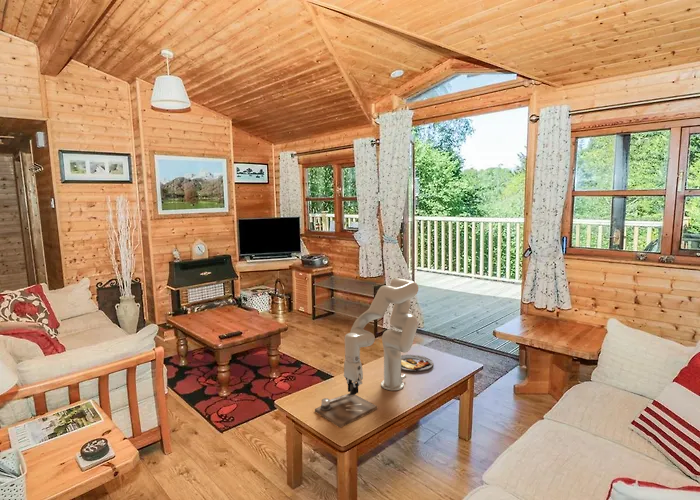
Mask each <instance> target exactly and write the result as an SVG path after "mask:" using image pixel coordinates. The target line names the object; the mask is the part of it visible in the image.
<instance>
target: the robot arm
mask: <svg viewBox="0 0 700 500" xmlns="http://www.w3.org/2000/svg"><path fill="white" fill-rule="evenodd" d="M377 290H378V291H377V292H376V294H375V296H374V299H372V302H371V304H370V306H369V308H368V309H367V310H365V311H364V312H363V313H361V314H360V315H359V316H358V317H357V318H356V319H355V321H354V322H353V324H352V326H351V328H350V331H349V332H348V333H346V334H345V335H344V362H343V377H344V378H345V380H346V384H347V392H349V393H350V383H352V382H353V385H354V387H353V394H355V395H357V394H359V386H360V385H362V384H363V379H364V371H363V364H362V361H361V348H364V347H371V346H373V344H374V343H375V340H376V337H375V335H374V333H372V332H370V330H369V331H368V330H365V329H364V328H365V327H366V326H367V324H368V323H370V322H372V321H374V320H375V321H376V320H378V319H381V318H384V316H385V314H386V312H387V310H388V309H389V306H390V304H393V309H392V311H391V315H390V319H389V324H390V326H391V327H393V328H394V329H386V330H385V331H384V332H383V334H382V335H381V342H382V347H383V348H382V349H383V380H382V381H381V383H380V385H381V388H382V389H385V391H386V390H387V391H390V392H391V391H393V392H394V391H400V390H402V389H403V388H404V387H405V383H404V382H403V380H404V379H407V374H403V375H402V368H401V355H402V353H408V352H409V351H410V350H411V349H412V346H413V343H414V340H415V337H416V332H417V329H418V319H417V317H416V316H415V315H414V314H410V313H409V311H410V306H411V300H410V299H413V298H414V297H416V296H417V294H418V293H419V285H418V284H417V283H416V281H413V280H410V279H409V280H408V279H404V278H398V277H396V278H393V279H391V280H390V285H381V286H380V287H379V288H378V289H377ZM395 329H398V330H400V331H398V330H395Z"/></svg>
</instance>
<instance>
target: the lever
mask: <svg viewBox="0 0 700 500" xmlns="http://www.w3.org/2000/svg"><path fill="white" fill-rule="evenodd" d="M353 387H354V385H353V381H352V383H350V392H349V393H346V394H344V395H341V396H337V397H334V398H331V399H329V398H322V399H321V405H322V408H329V407H330V404H333V403H336V402H339V401H342V400H345V399H348V398H351V397H354V395H356V394H353Z"/></svg>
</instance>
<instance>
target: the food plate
mask: <svg viewBox="0 0 700 500" xmlns="http://www.w3.org/2000/svg"><path fill="white" fill-rule="evenodd" d="M418 360H419V361H418ZM424 361H425V362H424ZM417 362H418V363H417ZM432 367H434V361H433V360H432V359H430V358H428V357H427V356H423V355H420V354H401V370H405V371H408V372H409V371H410V372H421V371H424V370H425V371H426V370H429V369H431V368H432Z"/></svg>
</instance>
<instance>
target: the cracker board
mask: <svg viewBox="0 0 700 500" xmlns="http://www.w3.org/2000/svg"><path fill="white" fill-rule="evenodd" d="M376 410H378V406H377V405H376V404H374V403H372V402H370V401H368V400H367V399H364V398H363V397H360V396H359V395H357V394H355V395H354V397H351V398H348V399H345V400H342V401H339V402H336V403H333V404H330V407H329V408H322V404H321V405H320V406H317V407H315V408H314V412H315V413H316V414H318V415H319V414H320V416H322V417H323V418H324V419H325V420H328V421H329V422H330V421H331V423H332V424H333V425H335V426H337V427H338V428H340V429H341V428H343V427H344V426H346V425H348V424H350V423H353V422H354V421H356V420H358V419H360V418H362V417H364V416H366V415H368V414H370V413H372V412H374V411H376Z"/></svg>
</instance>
